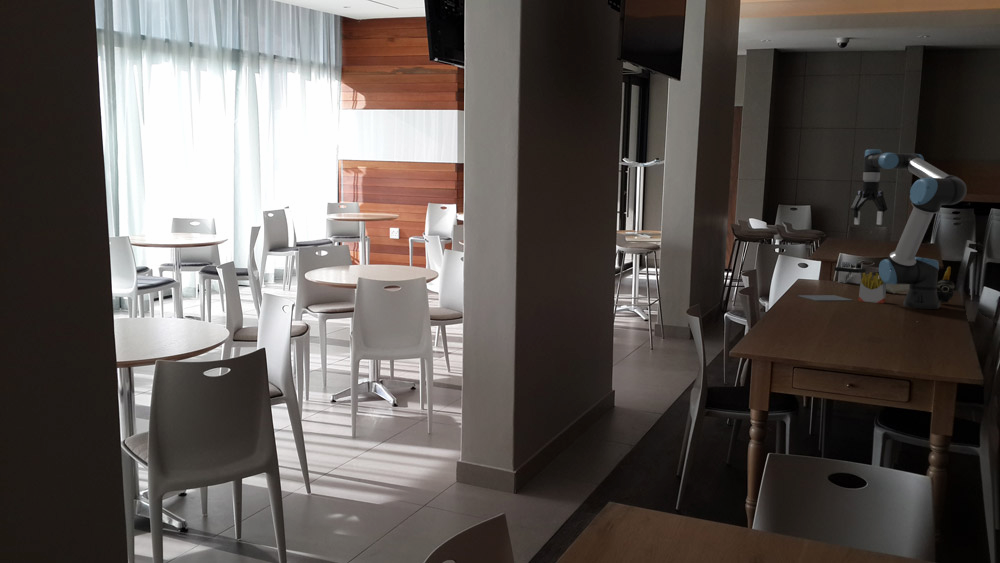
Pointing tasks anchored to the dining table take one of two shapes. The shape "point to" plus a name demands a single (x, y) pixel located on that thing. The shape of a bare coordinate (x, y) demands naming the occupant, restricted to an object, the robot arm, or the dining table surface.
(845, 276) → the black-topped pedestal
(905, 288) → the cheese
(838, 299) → the mat
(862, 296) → the french fries container
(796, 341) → the dining table surface
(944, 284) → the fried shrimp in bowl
